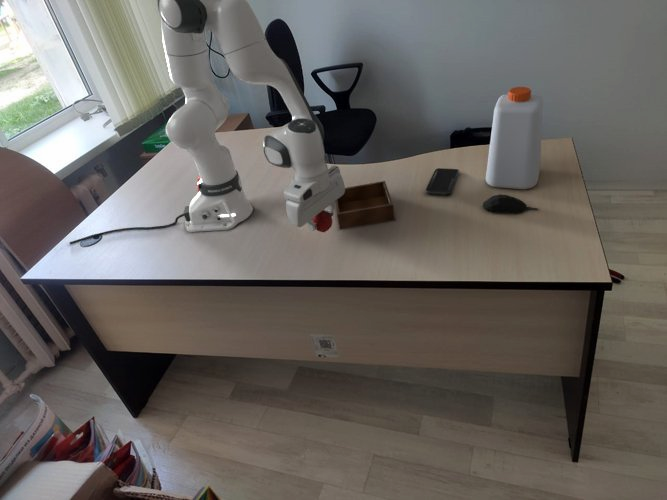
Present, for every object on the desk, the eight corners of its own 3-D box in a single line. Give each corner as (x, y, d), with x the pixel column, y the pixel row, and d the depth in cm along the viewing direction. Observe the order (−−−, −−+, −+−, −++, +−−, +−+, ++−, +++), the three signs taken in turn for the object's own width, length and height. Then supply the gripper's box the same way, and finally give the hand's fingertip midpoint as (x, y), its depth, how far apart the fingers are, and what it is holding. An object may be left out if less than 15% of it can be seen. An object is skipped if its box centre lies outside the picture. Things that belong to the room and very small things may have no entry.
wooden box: (339, 229, 142) (336, 214, 139) (335, 204, 154) (333, 189, 150) (394, 219, 142) (393, 204, 138) (386, 195, 153) (384, 180, 150)
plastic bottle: (491, 164, 158) (496, 80, 141) (540, 167, 152) (551, 80, 135) (483, 188, 148) (486, 100, 131) (535, 192, 142) (546, 100, 125)
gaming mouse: (537, 215, 132) (538, 203, 130) (481, 213, 137) (482, 201, 135) (537, 203, 137) (538, 191, 135) (483, 201, 142) (484, 189, 140)
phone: (425, 191, 149) (436, 167, 160) (425, 194, 150) (436, 170, 160) (450, 193, 146) (459, 169, 157) (450, 196, 147) (459, 172, 157)
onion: (334, 225, 139) (330, 202, 134) (333, 236, 134) (328, 213, 130) (315, 226, 140) (310, 203, 135) (313, 238, 135) (307, 215, 130)
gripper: (329, 160, 134) (336, 202, 143) (278, 195, 123) (289, 238, 131) (346, 164, 131) (353, 207, 139) (295, 201, 119) (306, 244, 128)
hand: (322, 222), depth 135 cm, fingers closed on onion, 6 cm apart
